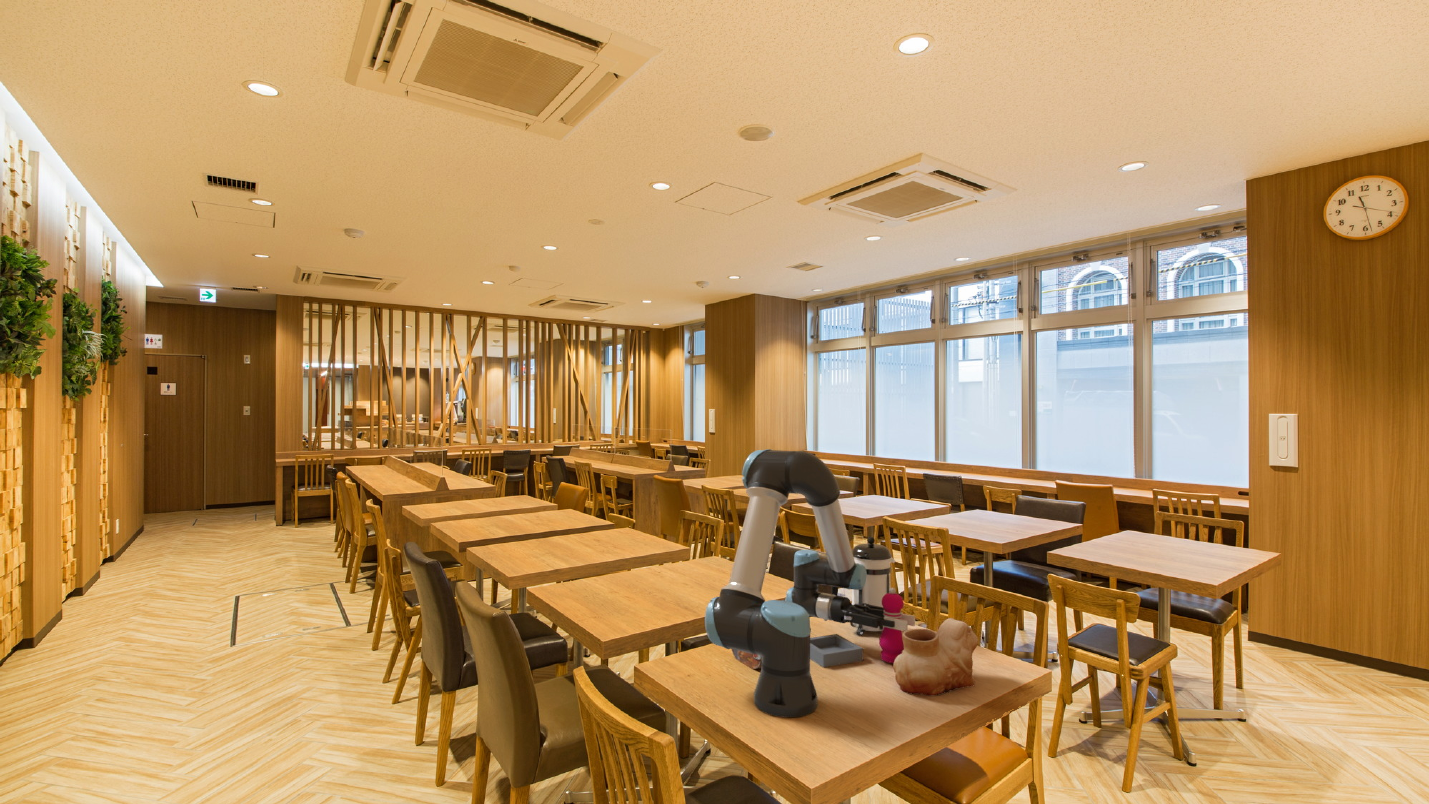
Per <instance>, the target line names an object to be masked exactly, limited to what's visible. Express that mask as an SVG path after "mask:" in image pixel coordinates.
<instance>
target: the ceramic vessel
mask: <svg viewBox="0 0 1429 804" xmlns="http://www.w3.org/2000/svg"><path fill="white" fill-rule="evenodd" d="M902 639H903V644H904V650H903V651H902V654H900V655H898V656H897V657H896V659H895V661H894V663H893V670H894V673H895V674H894V675H895V682H896V684H898V686H899V690H901V691H902V692H903V693H906V694H910V695H924V696H928V697H935V696H942V695H943V694H946V693H947V692H948V693H949V692H952V691H955V690H958V689H962V688H963V687H964V688H968V687H967V686H969V687H974V686H975V684H976V682H975V678H974V677H973V666H974V662H973V661H974V660H973V653H974V650H975V649H976V648H977V646H979V640H978V636H977V634H976V633H975V632H974V631H973V628H972V627H971V626H969V625H968V624H967V623H966V622H964V621H961V620H958V619H957V620H956V619H954V618H953V617H950V618H946V619H945V620H944V621H943V622H942V623H941V624H940V625H939V627H938V629H937V630H936V631H935V630H932V629H928V628H913V629H908V630H907V631H903V632H902Z"/></svg>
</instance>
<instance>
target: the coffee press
mask: <svg viewBox="0 0 1429 804" xmlns="http://www.w3.org/2000/svg"><path fill="white" fill-rule="evenodd" d="M875 541H876V539H875V538H874V537H872V536H869V537H868V538H867V542H868V543H860V544H857V545H855V546H854V547H853V548H852V553H853V557H854V561H855V563H856V564H857V563H858V564H862V565H864V566H865V568H866V573H867V577H866V583H865V586H864V587H863V589H861V590H854V589H851V604H852V605H854V604H860V605H862V603H866V604H869V605H874V606H879V607H883V606H882V598H883V596H884V595H885V594H887V593H890V592H889V590H890V588H891V573H892V565H891V564H892V563H896V559H894V558H893V556H892V553H891V551H890V549H889V548H888V547H886V545H885V546H884V545H882V544H879V543H875ZM838 588H839V587H833V586H831V594H833V595H836V596H839V595H838ZM849 625H850V626H852V627H855V628H856V633H855V634H856V636H859V637H862V636H863V634H864V632H866V631H867V632H883V629H884V626H883V629H882V630H880V629H879V626H878V628H874V627H869V626H864V625H860V624H855V623H850V624H849Z"/></svg>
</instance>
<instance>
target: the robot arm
mask: <svg viewBox="0 0 1429 804" xmlns="http://www.w3.org/2000/svg"><path fill="white" fill-rule="evenodd" d="M744 461H745V462H744V464H743V468H742V473H741V475H742V478H741V479H742V481H741V482H742V484H743V487H744V488H745V489H746V490H745V493H746V494H747V496H748V498H749V501H748V505H747V508H746V512H745V516H744V521H743V526H742V529H741V533H740V537H739V541H738V545H737V549H736V553H735V557H734V560H733V561H734V562H733V564H732V569H731V573H730V577H729V580H728V581H729V582H728V583H727V584H726V585H725V586H723V587H721V589H720V592H719V596H716V597H715V596H714V597H713V598H711V599H710V601H708V603H707V606H706V610H705V615H704V625H705V626H704V627H705V631H706V635H707V638H708V639H709V641H710V642H711V643H712V644H713V645H715V646H718V647H722V648H724V649H727V650H732V649H733V650H738V651H742V652H747V653H751V654H756V655H760V656H761V659H762V668H760V669H761V670H760V674H759V676H758V679H757V683H756V686H755V689H754V692H753V696H754V697H753V703H754V706H755V707H756V708H757V709H758V710H760V711H761V712H763V713H764V714H767V715H770V716H773V717H774V716H775V717H781V718H798V717H804V716H807V715H810V714H811V713H814V711H816V709H817V708H818V693H817V691H816V688H815V687H816V686H815V683H814V681H813V678H812V674H811V659H810V638H811V634H812V633H811V632H812V628H811V621H810V620H811V619H810V617H813V618H818V619H823V620H824V621H825V622H827V621H832V622H835V623H840V624H846V623H855V624H860V625H864V626H869V627H874V628H878V626H879V629H880V630H882V629H883V626H884V627H887V628H892V629H897V630H901V632H902V631H903V632H904V631H907V630H909V628H908V627H909V626H910V627H915V626H916V616H915V615H912V614H906V613H903V612H902V613H901V615H902V617H901V618H900V619H895V618H890V617H886V616H884V615H883V614H884V612H883V610H885V609H884V607H879V606H874V605H869V604H866V603H862V605H860V604H854V605H852V601H851V600H850V598H849V597H847V596H842V595H838V596H836V595H833V594H832V593H828V592H827V593H826V592H821V591H819V585H821V586H826V587H827V586H829V587H832V586H833V587H838V588H841V589H847V590H852V589H854V590H861V589H863V587H864V586H865V583H866V577H867V573H866V568H865V566H864V565H862V564H858V563H857V564H856V563H855V561H854V557H853V553H852V550H853V548H852V547H851V542H850V540H849V539H850V538H849V534H848V532H847V527H846V522H845V520H844V516H843V512H842V509H841V505H840V501H839V499H840V497H841V489H840V487H839V484H838V483H839V482H838V480H837V478H836V477H835V475H834V473H833V471H831V469H830V468H829V466H828V465H827V464H826V463H825V462H824V461H823V460H821V459H820V458H819V457H818V456H816V455H815V454H813V453H811V452H807V451H803V450H781V449H780V450H779V449H777V450H776V449H771V448H770V449H769V448H767V449H759V450H758V449H757V450H754V451H753V452H751V453H750V454H749V455H748V457H747V458H746V459H745V460H744ZM789 494H795V495H802V496H804V498H805V501H806V503H807V504H808V505H809V506H811V509H812V511H813V515H814V519H815V522H816V525H817V528H818V531H819V534H820V538H821V542H822V544H823V549H824V551H825V555H826V558H827V559H823V558H820V557H819V556H820V555H819V552H818V551H816V550H812V549H799V550H797V551H796V552H795V553H794V556H793V557H794V558H793V586H792V587H789V588H788V589H787V592H786V596H785V600H782V599H780V600H777V599H770V600H766V599H765V598H764V596H763V594H762V589H763V584H764V581H765V575H766V571H767V567H768V563H769V559H770V554H771V549H772V545H773V542H774V536H775V532H776V527H777V523H778V519H779V514H780V509H781V507H782V506H784V505H785V504H787V503H788V500H789Z"/></svg>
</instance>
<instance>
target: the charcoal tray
mask: <svg viewBox="0 0 1429 804" xmlns="http://www.w3.org/2000/svg"><path fill="white" fill-rule="evenodd" d="M863 655H864V649H863V647H862V646H860V645H858V644H856V643H854V642H852V641H850V640H849V639H847V638H845V637H843V636H842V635H840V634H837V633H833V634H827V635H826V634H825V635H820V636H815V637H814V636H813V637H810V661H813V662H814V663H816V664H817V665H818V666H820V667H822V668H823V667H824V668H828V666H830V667H835V666H840V665H847V664H852V663H858V662H863V660H864V658H863V657H864V656H863Z"/></svg>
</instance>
